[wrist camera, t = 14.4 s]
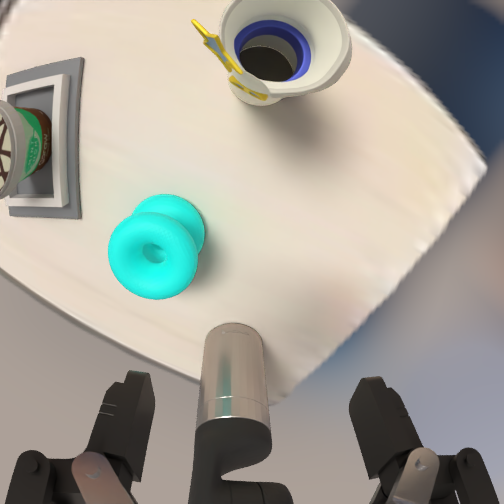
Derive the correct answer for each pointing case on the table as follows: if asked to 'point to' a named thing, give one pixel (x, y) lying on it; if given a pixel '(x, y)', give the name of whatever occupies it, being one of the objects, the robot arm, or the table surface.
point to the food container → (22, 144)
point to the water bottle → (282, 45)
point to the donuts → (157, 247)
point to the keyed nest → (63, 139)
